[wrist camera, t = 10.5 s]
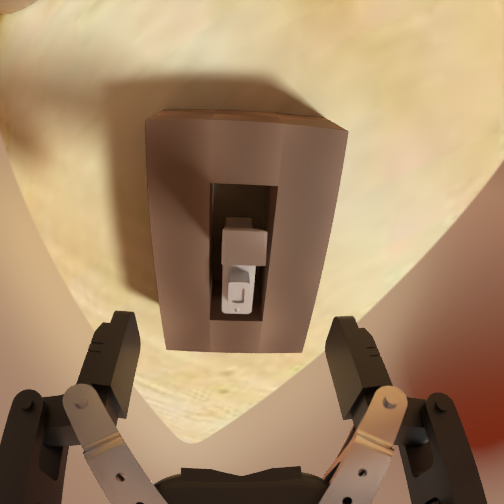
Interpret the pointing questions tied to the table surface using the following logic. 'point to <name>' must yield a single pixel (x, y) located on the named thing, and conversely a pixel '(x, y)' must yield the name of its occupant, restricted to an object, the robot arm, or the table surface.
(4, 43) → the table surface
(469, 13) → the table surface
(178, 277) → the slot stand
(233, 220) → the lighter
